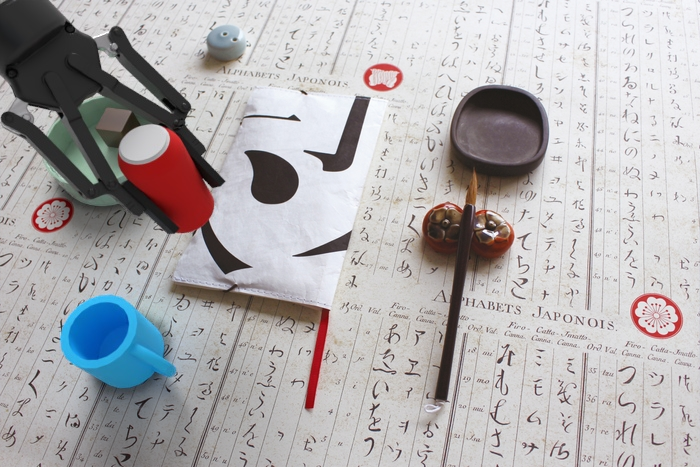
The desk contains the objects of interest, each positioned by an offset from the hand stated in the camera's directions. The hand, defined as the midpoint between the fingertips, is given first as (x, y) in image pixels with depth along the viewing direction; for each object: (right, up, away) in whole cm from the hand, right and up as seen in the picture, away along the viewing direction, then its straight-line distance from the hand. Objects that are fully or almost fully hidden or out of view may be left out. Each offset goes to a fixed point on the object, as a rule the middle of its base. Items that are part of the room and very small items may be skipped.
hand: (196, 207), depth 56 cm
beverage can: (-2, -1, +5) cm, 5 cm away
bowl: (-18, +8, +24) cm, 32 cm away
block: (-17, +11, +25) cm, 33 cm away
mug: (-9, -18, +10) cm, 22 cm away
